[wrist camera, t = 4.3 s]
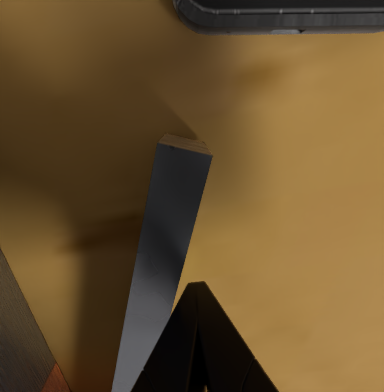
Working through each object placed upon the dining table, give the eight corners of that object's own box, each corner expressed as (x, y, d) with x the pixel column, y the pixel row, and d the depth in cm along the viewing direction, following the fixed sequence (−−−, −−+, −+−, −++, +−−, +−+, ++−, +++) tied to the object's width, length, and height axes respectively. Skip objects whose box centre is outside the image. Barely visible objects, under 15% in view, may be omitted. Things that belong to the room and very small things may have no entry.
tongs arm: (124, 472, 16) (110, 557, 13) (69, 467, 15) (41, 555, 12) (209, 143, 8) (223, 160, 5) (109, 119, 8) (64, 123, 5)
